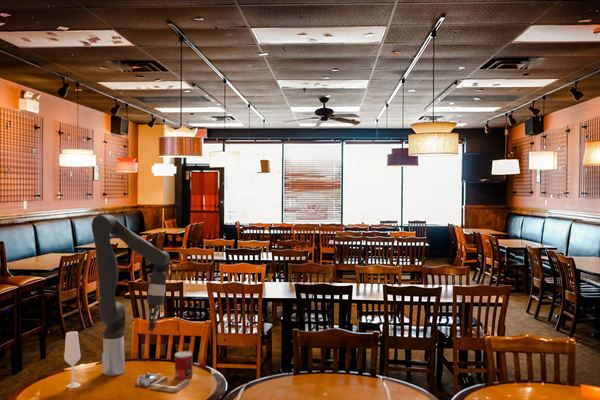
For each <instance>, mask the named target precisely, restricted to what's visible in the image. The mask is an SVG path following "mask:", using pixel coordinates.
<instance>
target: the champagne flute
mask: <svg viewBox="0 0 600 400" xmlns="http://www.w3.org/2000/svg"><path fill="white" fill-rule="evenodd" d="M64 343H65V344H64V346H65V347H64V358H63V359H64V361H65V362H66V363H67V364H68V365H70V366H71V370H70V371H71V383H69V384H67V385H66V386H67V387H69V388H75V387H76V389H78V388H77V387H79V386H80V385H81V386H82V383H78V382H76V381H75V380H76V379H75V378H76V377H75V365H76V364H77V363H78V362H79V361H80V359H81V357H82V355H81V349H80V340H79V333H78V331H74V330H73V331H68V332H66V334H65V342H64ZM79 388H80V387H79Z"/></svg>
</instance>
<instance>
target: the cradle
mask: <svg viewBox="0 0 600 400" xmlns="http://www.w3.org/2000/svg"><path fill="white" fill-rule="evenodd" d="M167 381H168V376H165V375H164V376H163V377H161V378H159V380H157V381H156V382H154V383H152V384H151V385H150V386H149V387H150V389H151V390H156V391H163V392H169V393H170V392H171V393H179V391H181V390H182V389H184V388H185V387H186V386H188V385H189V384H190V379H186V380H182V382H180V383H178V384H176V385H175V386H174V385H173V386H172V385H165V384H164V383H166V382H167Z"/></svg>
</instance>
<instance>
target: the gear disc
mask: <svg viewBox="0 0 600 400" xmlns="http://www.w3.org/2000/svg"><path fill="white" fill-rule="evenodd" d="M159 379H160V374H158V373H152V372H146V373H145V374H140V375H137V379H136V386H138V387H139V386H143V387H146V388H147V387H150V385H151V384H152V383H154V382H156V381H157V380H159Z"/></svg>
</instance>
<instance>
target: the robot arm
mask: <svg viewBox="0 0 600 400" xmlns="http://www.w3.org/2000/svg"><path fill="white" fill-rule="evenodd" d="M91 232H92V236H93V241H94V246H95V258H96V270H97V271H96V273H97V278H98V281H97V282H98V292H99V311H98V312H99V318H100V320H101V322H102V323H103V324H105V325H106V326H105V328H104V329H103V332H102V333H103V334H102V337H103V338H102V341H103V342H102V343H103V352H102V353H101V366H102V368H101V370H102V371H101V372H102V374H104V376H108V377H109V376H119V375H122V374H123V373H125V372H126V371H125V370H126V369H125V368H126V367H125V339H124V338H125V337H124V336H125V335H124V334H125V329H126V309H125V306H124V304H122V303H121V302H119V301H116V296H115V295H116V288H117V284H118V280H119V279H118V278H119V264H118V259H117V256H116V254H115V251H114V250H113V247H112V245H111V244H112V243H111V235H112V236H114V237H116V238H118V239H120V240H121V241H122V242H123V243H124V244H125V245H126V246H127V247H128V248H129V249H131V250H132V251H134V252H135V253H136V254H138V255H140V256H141V257H144V259H146V260H147V261H148V262H150V263H151V264H153V265H154V267H153V271H152V272H151V275H150V280H149V281H150V282H149V286H148V291H147V299H146V304H148V305H151V307H149V310H148V311H149V314H148V322H149V323H148V331H149V332H150V331H151V332H153V331H154V329H155V328H156V325H157V323H156V322H157V320H158V316H159V312H160V308H159V307H160V306H163V305H164V303H165V293H166V282H167V274H168V271H169V268H170V264H171V256H170V254H169V252H168V251H164V250H161V249H159V248H157V247H156V246H154V245H153V244H152V243H151V242H149V240H146V239H144V238H143V237H141V236H139V235H137V233H135V232H133V231H132V230H130V229H129V228H127V227H126V226H125V225H123V224H122V223H121V222H120V221H119V220H118V219H117V218H115V217H114V216H113V215H112V214H107V213H105V214H100V215H99V214H98V215H96V216H95V217H94V218H92V221H91Z"/></svg>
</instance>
